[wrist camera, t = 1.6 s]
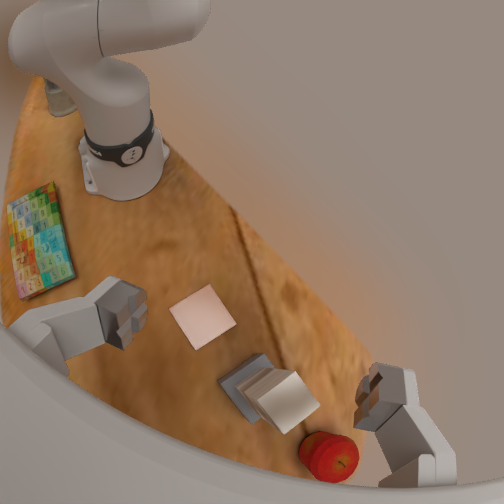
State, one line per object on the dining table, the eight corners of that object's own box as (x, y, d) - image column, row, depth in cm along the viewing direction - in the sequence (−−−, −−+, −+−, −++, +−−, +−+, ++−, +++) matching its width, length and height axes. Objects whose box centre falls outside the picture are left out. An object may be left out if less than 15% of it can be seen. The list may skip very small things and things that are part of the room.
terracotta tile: (168, 309, 46) (168, 308, 45) (209, 284, 49) (209, 283, 48) (195, 350, 44) (195, 350, 44) (236, 324, 47) (236, 323, 47)
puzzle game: (17, 298, 36) (4, 202, 40) (29, 304, 40) (14, 213, 44) (71, 273, 40) (52, 178, 44) (80, 280, 44) (59, 191, 48)
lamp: (88, 104, 56) (70, 2, 29) (43, 128, 52) (8, 31, 24) (80, 86, 58) (64, -6, 31) (38, 107, 53) (10, 18, 26)
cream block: (234, 386, 39) (256, 400, 26) (261, 367, 41) (295, 371, 28) (254, 411, 38) (284, 434, 26) (280, 392, 40) (320, 405, 27)
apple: (336, 459, 42) (371, 477, 31) (294, 472, 40) (322, 497, 29) (332, 420, 45) (368, 433, 34) (289, 433, 42) (317, 451, 32)
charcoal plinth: (216, 380, 43) (220, 383, 39) (256, 353, 46) (264, 353, 42) (245, 417, 42) (251, 424, 38) (283, 390, 45) (293, 393, 40)
